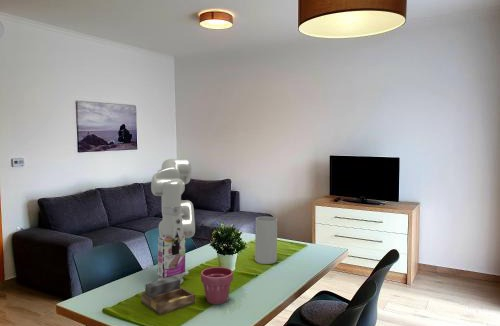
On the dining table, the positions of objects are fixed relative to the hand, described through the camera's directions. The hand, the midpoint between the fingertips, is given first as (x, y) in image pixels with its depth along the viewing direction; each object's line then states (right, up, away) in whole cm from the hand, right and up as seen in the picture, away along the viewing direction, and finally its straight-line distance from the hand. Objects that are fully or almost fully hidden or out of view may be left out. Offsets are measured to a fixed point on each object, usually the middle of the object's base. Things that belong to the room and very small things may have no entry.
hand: (171, 252), depth 166 cm
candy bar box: (0, -10, +1) cm, 10 cm away
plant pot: (+18, -23, +8) cm, 31 cm away
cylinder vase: (+42, -19, +62) cm, 77 cm away
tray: (-2, -23, +4) cm, 23 cm away
